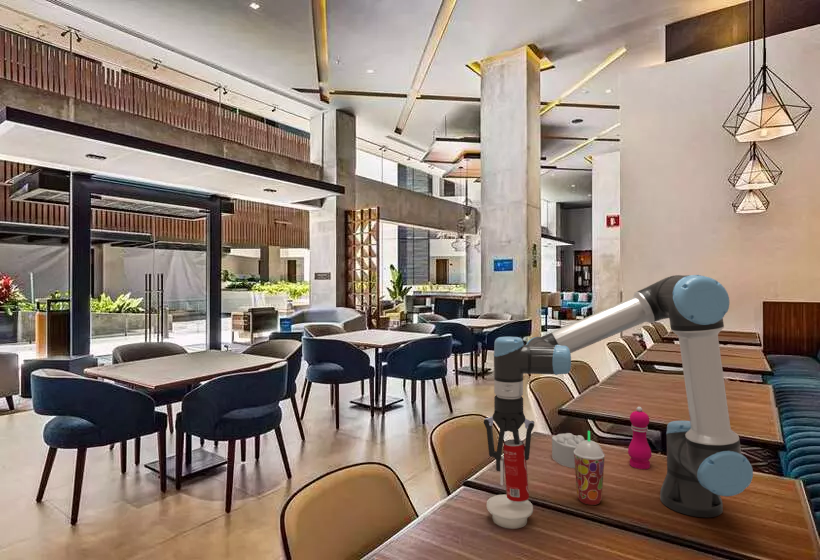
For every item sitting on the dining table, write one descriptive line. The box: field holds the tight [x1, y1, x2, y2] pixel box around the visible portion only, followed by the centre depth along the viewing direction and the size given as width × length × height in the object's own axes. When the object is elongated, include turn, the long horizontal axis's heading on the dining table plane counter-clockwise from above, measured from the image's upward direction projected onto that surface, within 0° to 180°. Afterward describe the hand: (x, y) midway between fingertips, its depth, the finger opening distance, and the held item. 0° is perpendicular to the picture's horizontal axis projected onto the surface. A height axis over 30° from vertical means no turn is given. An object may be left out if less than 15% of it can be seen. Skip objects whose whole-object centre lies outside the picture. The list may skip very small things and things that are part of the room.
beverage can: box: [502, 438, 530, 503], centre depth 127 cm, size 6×6×15 cm
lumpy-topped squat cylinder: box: [551, 432, 585, 469], centre depth 167 cm, size 10×13×9 cm
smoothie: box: [574, 430, 606, 506], centre depth 138 cm, size 8×8×20 cm
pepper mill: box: [627, 406, 652, 470], centre depth 163 cm, size 7×7×20 cm
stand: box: [486, 493, 534, 530], centre depth 128 cm, size 12×12×4 cm
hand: (509, 483), depth 128 cm, fingers open, 3 cm apart
